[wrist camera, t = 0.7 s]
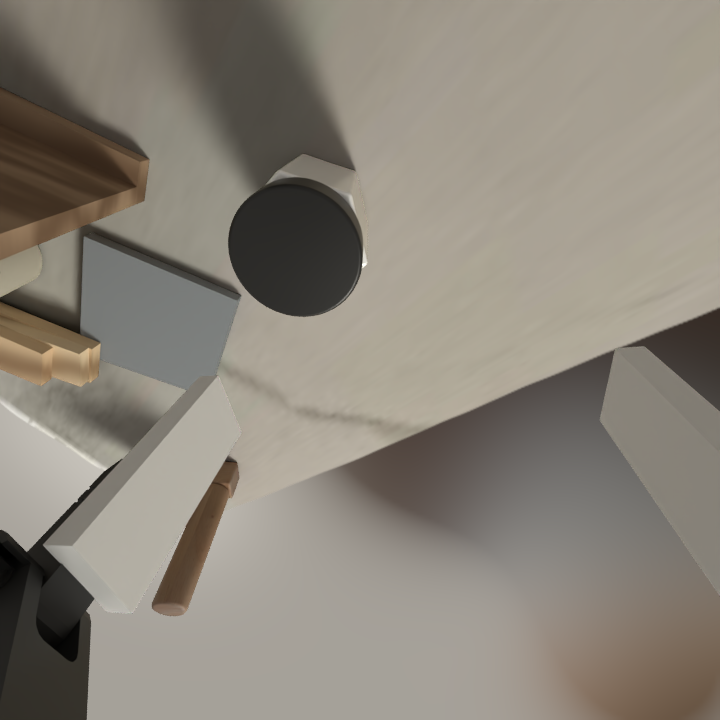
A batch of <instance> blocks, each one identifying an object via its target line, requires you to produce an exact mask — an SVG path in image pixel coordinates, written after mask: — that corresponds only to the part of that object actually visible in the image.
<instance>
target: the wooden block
mask: <svg viewBox="0 0 720 720" xmlns="http://www.w3.org/2000/svg"><path fill="white" fill-rule="evenodd" d="M238 480H239V472H238V465H237V463H234V462H224V463H223V465H222V466H221V468H220V470H219V471H218V473H217V475H216V476H215V478H214V479H213V481H212V483H211V484H210V486H209V488H208V489H207V491H206V493H205V494H204V496H203V498H202V499H201V501H200V503H199V504H198V506H197V508H196V509H195V511H194V513H193V514H192V516H191V518H190V519H189V521H188V523H187V524H186V526H185V527H186V528H185V530H184V532H183V535H182V537H181V539H180V541H179V543H178V546H177V548H176V550H175V552H174V555H173V557H172V560H171V561H170V564H169V566H168V568H167V571H166V573H165V575H164V577H163V580H162V582H161V584H160V586H159V589H158V591H157V593H156V595H155V598H154V600H153V602H152V609H153V610H154V611H156V612H158V613H160V614H163V615H167V616H179V615H183V614H184V613H185V612H186V611H187V609H188V606H189V603H190V601H191V598H192V595H193V592H194V590H195V587H196V584H197V581H198V579H199V576H200V573H201V570H202V568H203V565H204V563H205V560H206V557H207V554H208V552H209V549H210V546H211V543H212V541H213V538H214V535H215V533H216V530H217V527H218V524H219V521H220V519H221V516H222V514H223V511H224V508H225V505H226V503H227V500H228V498H232V497H233V494H234V491H235V489H236V486H237V483H238Z"/></svg>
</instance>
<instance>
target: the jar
mask: <svg viewBox="0 0 720 720" xmlns="http://www.w3.org/2000/svg"><path fill="white" fill-rule="evenodd" d="M228 248H229V255H230V260H231V263H232V266H233V269H234V271H235V273H236V275H237V277H238V279H239V281H240V282H241V284H242V285H243V286H244V288H245V289H246V290H247V291H248V292H249V293H250V294H251V295H252V296H253V297H254V298H255V299H256V300H258V301H259V302H260V303H262V304H263V305H265V306H266V307H268V308H270V309H272V310H274V311H277V312H279V313H282V314H286V315H291V316H299V317H306V316H315V315H319V314H323V313H325V312H328V311H330V310H332V309H334V308H336V307H337V306H339V305H340V304H341V303H342V302H344V301H345V300H346V299H347V298H348V296H349V295H350V294H351V293H352V291H353V290H354V288H355V286H356V284H357V282H358V280H359V277H360V274H361V270H362V268H363V267H364V266H365V265H366V264H367V261H368V221H367V217H366V212H365V208H364V203H363V199H362V194H361V189H360V185H359V180H358V176H357V173H356V171H354V170H351V169H348V168H344V167H341V166H338V165H335V164H332V163H329V162H326V161H323V160H320V159H317V158H314V157H312V156H309V155H306V154H301V155H300V156H298V157H297V158H295V159H294V160H292V161H291V162H289V163H288V164H286V165H285V166H283V167H282V168H280V169H279V170H278V171H276V173H275V174H274V175H273V176H272V177H271V179H270V180H269V181H268V182H267V184H266V185H265V186H264V187H262V188H261V189H259V190H258V191H257V192H255V193H254V194H253V195H251V196H250V197H249V198H248V199H247V200H246V201H245V202H244V203H243V204H242V205H241V206H240V208H239V209H238V211H237V212H236V214H235V216H234V218H233V221H232V223H231V227H230V231H229V238H228Z"/></svg>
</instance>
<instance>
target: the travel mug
mask: <svg viewBox="0 0 720 720" xmlns="http://www.w3.org/2000/svg"><path fill="white" fill-rule="evenodd" d="M41 270H42V256H41V252H40V249H39V247H38V245H36V246H34V247H31V248H29V249H27V250H24V251H22V252H19V253H17V254H14V255H12V256H10V257H7V258H5V259H2V260H0V297H2V296H4V295H6V294H8V293H10V292H12V291H14V290H16V289H17V288H19V287H21V286H23V285H25V284H27V283H29V282H31V281H33V280H35V279H36V278H37V277H38V276H39V274H40V272H41Z"/></svg>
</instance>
